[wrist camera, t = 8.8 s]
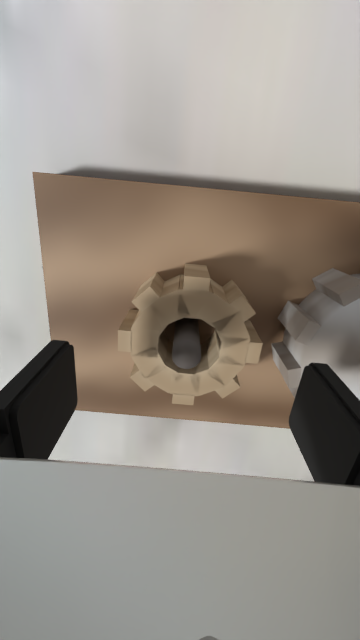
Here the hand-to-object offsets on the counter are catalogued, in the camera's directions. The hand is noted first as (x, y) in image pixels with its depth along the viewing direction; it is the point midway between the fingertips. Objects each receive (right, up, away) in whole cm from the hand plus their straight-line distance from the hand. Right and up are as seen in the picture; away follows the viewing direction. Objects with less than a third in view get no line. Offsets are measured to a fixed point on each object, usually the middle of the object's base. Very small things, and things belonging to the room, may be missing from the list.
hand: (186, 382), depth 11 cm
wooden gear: (0, +2, +6) cm, 6 cm away
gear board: (+4, +3, +8) cm, 9 cm away
